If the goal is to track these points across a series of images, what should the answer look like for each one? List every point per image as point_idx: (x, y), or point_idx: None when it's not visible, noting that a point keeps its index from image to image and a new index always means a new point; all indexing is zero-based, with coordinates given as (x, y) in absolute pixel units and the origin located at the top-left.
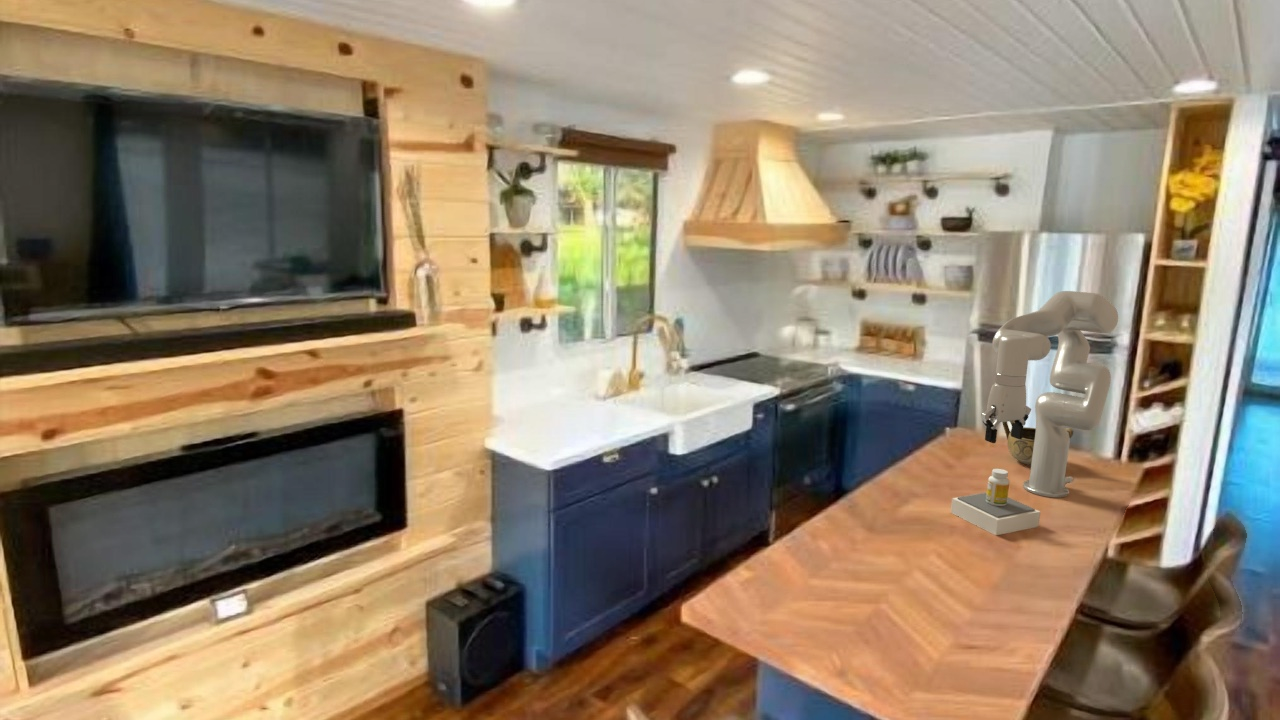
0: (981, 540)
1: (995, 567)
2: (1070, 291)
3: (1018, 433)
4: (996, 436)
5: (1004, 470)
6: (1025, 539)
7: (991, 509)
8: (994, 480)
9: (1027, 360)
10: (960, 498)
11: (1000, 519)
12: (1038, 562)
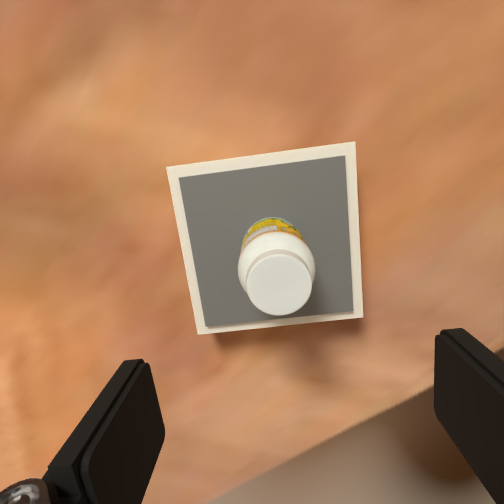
0: (154, 326)
1: None
2: None
3: (462, 434)
4: (145, 486)
5: (305, 283)
6: (261, 345)
7: (222, 284)
8: (243, 284)
9: None
10: (182, 187)
11: (208, 333)
12: (205, 428)
